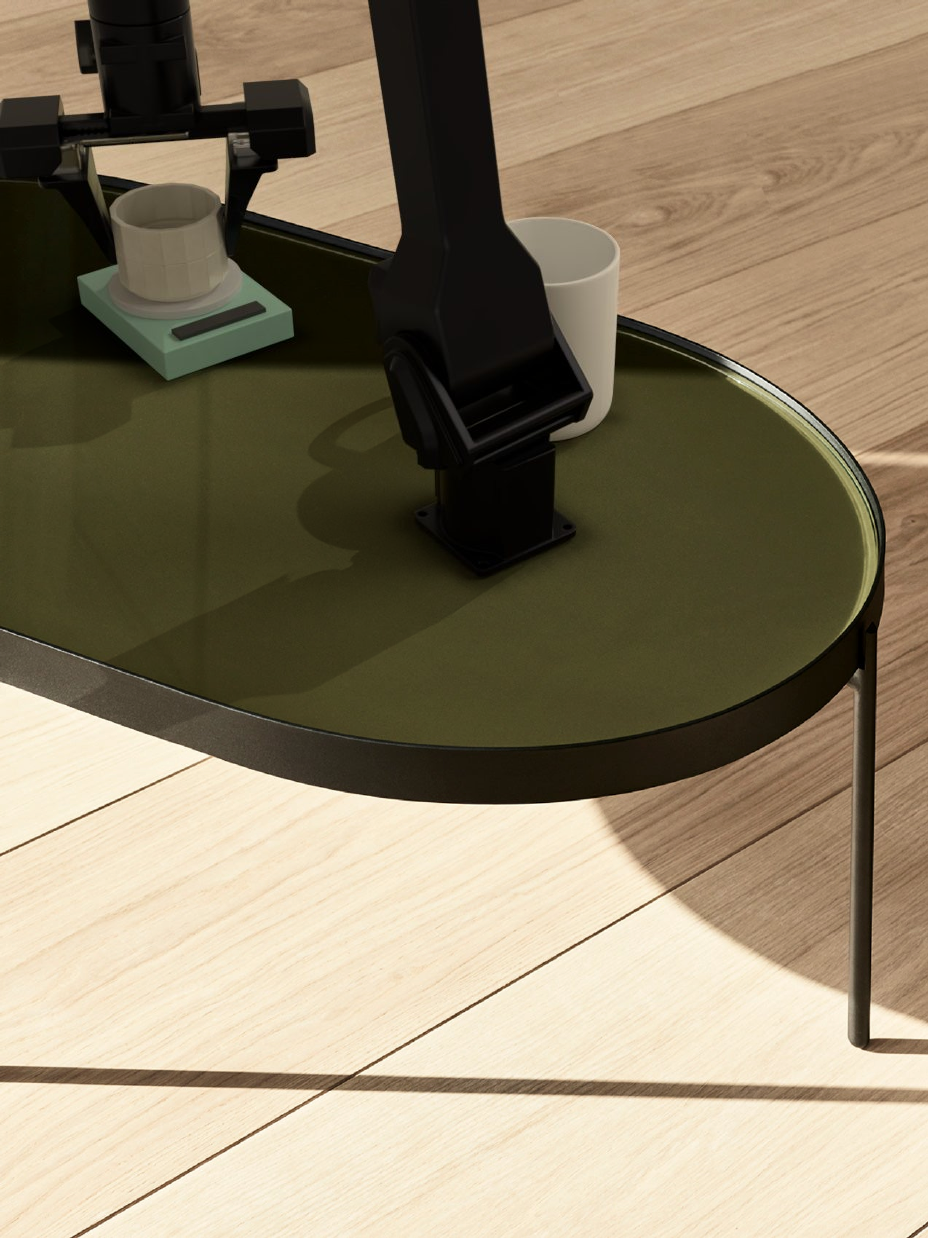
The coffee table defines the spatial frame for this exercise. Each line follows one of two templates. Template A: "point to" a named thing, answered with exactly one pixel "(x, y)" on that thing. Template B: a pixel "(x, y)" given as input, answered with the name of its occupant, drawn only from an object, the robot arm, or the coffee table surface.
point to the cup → (579, 300)
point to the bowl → (170, 241)
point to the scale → (189, 321)
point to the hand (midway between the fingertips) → (172, 257)
